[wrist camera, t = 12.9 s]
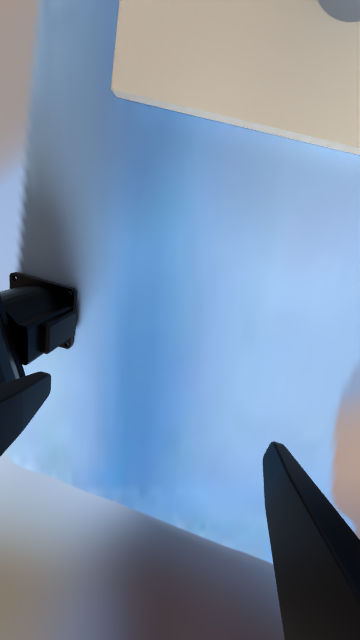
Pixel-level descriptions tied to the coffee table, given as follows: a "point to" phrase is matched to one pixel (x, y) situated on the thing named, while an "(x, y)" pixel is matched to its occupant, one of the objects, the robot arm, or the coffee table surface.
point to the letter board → (244, 65)
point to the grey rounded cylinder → (342, 9)
